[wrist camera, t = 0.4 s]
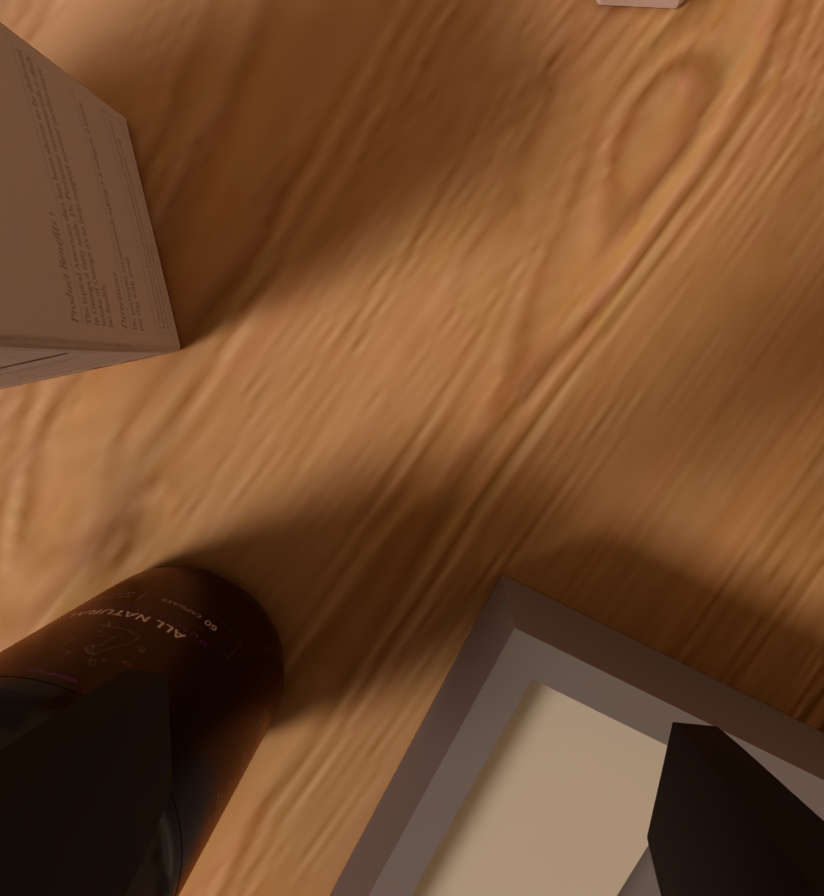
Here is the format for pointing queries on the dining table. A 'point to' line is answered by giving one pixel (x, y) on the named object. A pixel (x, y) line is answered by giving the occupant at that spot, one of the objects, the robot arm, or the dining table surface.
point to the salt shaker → (642, 3)
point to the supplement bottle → (189, 691)
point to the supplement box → (71, 230)
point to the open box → (553, 761)
